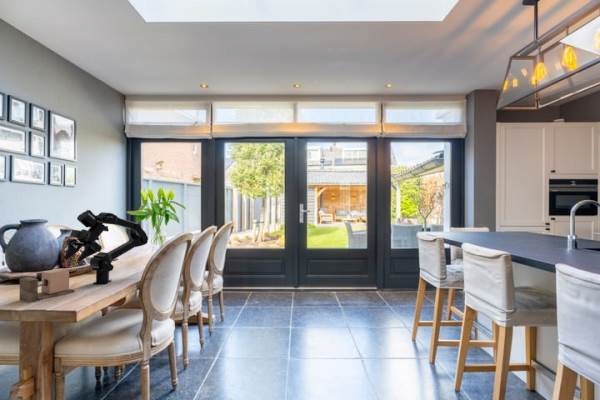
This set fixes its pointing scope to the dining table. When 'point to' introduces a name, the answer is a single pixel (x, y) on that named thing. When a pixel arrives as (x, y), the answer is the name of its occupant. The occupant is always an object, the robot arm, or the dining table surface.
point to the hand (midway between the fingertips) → (71, 260)
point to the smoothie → (70, 260)
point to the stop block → (35, 291)
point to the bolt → (43, 283)
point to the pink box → (55, 280)
